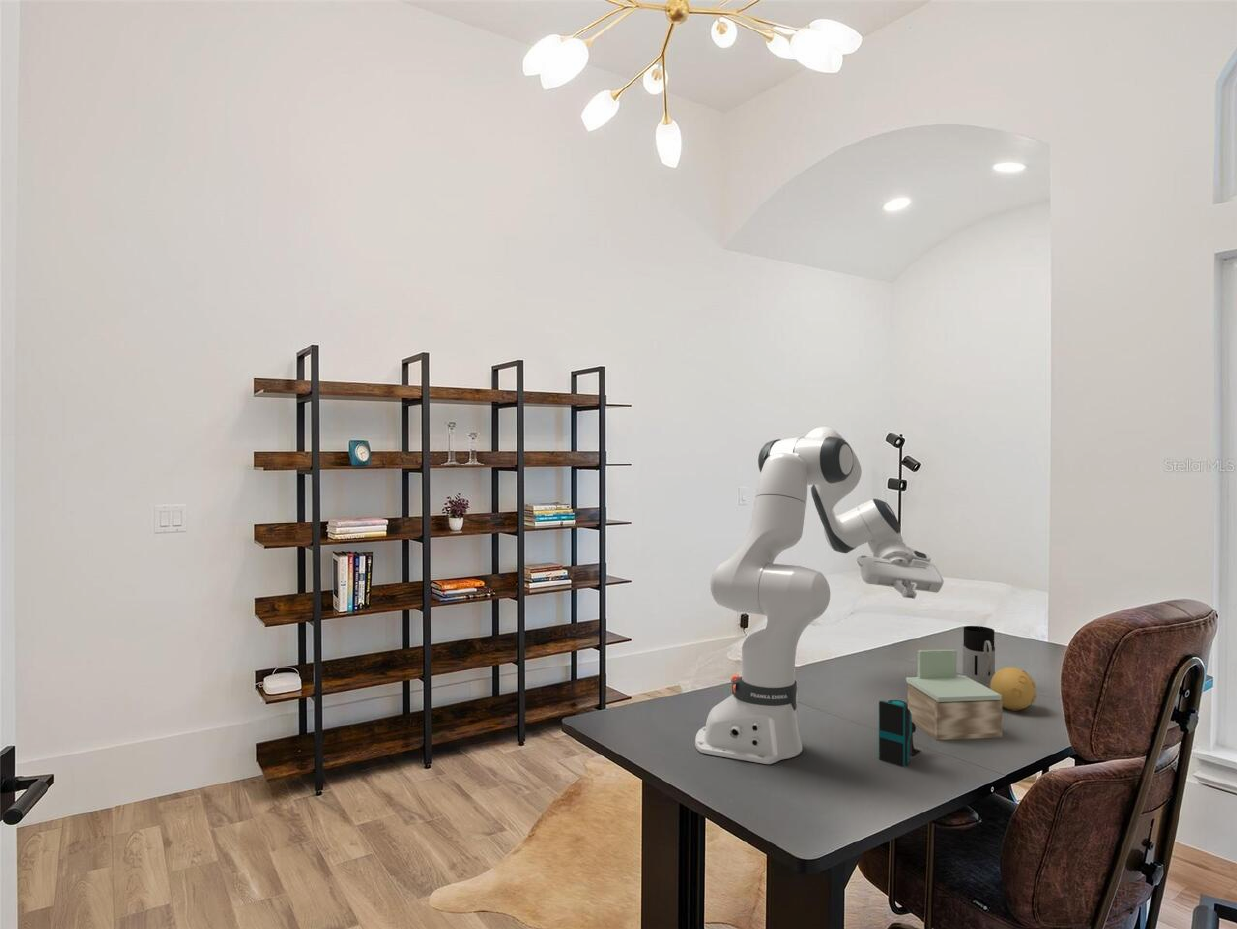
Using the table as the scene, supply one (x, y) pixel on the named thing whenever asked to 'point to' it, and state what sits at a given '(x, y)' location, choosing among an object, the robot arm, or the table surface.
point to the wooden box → (955, 717)
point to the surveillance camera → (896, 732)
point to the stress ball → (1014, 688)
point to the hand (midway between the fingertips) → (910, 596)
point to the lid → (947, 679)
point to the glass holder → (979, 654)
